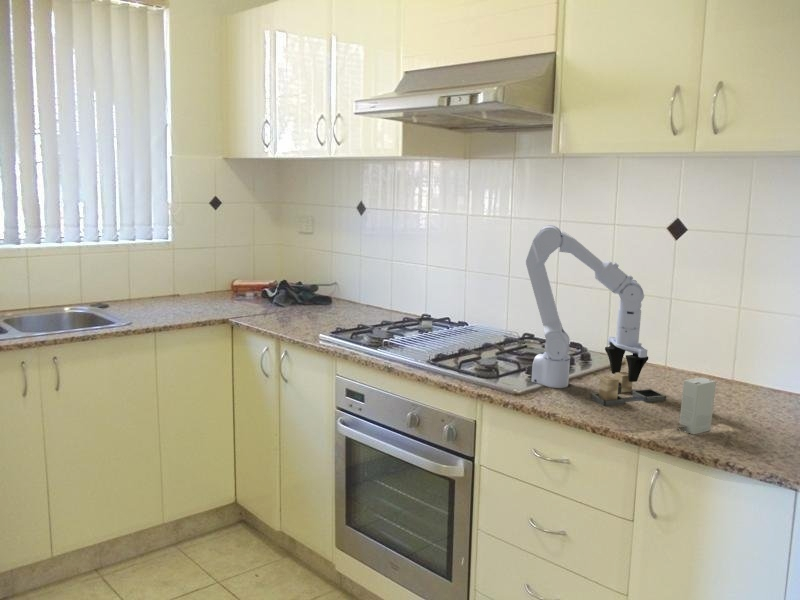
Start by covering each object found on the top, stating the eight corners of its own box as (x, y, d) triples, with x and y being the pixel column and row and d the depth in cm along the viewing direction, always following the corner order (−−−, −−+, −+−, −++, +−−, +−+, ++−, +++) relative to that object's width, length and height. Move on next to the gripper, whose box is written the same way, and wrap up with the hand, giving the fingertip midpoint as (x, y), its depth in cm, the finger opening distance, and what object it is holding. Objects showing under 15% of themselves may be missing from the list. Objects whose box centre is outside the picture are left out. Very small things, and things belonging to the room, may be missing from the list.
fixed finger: (605, 403, 176) (607, 380, 175) (598, 399, 179) (600, 376, 178) (621, 402, 177) (623, 379, 176) (613, 398, 180) (615, 375, 179)
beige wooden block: (623, 393, 190) (625, 371, 189) (631, 397, 187) (633, 375, 186) (609, 394, 188) (611, 372, 187) (616, 398, 185) (618, 376, 184)
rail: (603, 411, 174) (604, 401, 174) (590, 403, 180) (591, 393, 180) (664, 406, 180) (665, 396, 179) (650, 398, 186) (650, 389, 185)
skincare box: (695, 425, 167) (700, 375, 164) (711, 431, 163) (717, 381, 160) (677, 429, 164) (682, 378, 161) (693, 435, 160) (698, 384, 158)
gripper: (659, 332, 179) (654, 384, 181) (624, 320, 192) (620, 368, 195) (635, 333, 177) (631, 386, 179) (602, 321, 190) (598, 370, 193)
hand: (624, 377), depth 187 cm, fingers open, 7 cm apart
